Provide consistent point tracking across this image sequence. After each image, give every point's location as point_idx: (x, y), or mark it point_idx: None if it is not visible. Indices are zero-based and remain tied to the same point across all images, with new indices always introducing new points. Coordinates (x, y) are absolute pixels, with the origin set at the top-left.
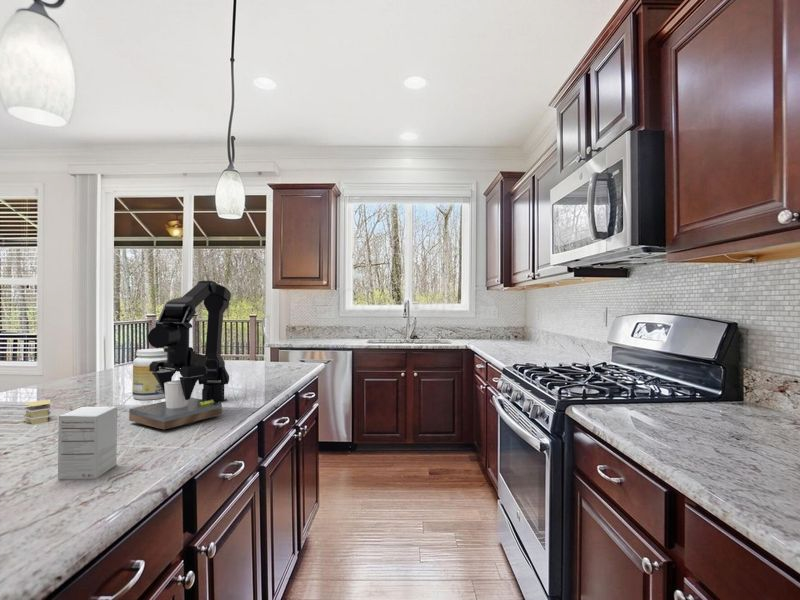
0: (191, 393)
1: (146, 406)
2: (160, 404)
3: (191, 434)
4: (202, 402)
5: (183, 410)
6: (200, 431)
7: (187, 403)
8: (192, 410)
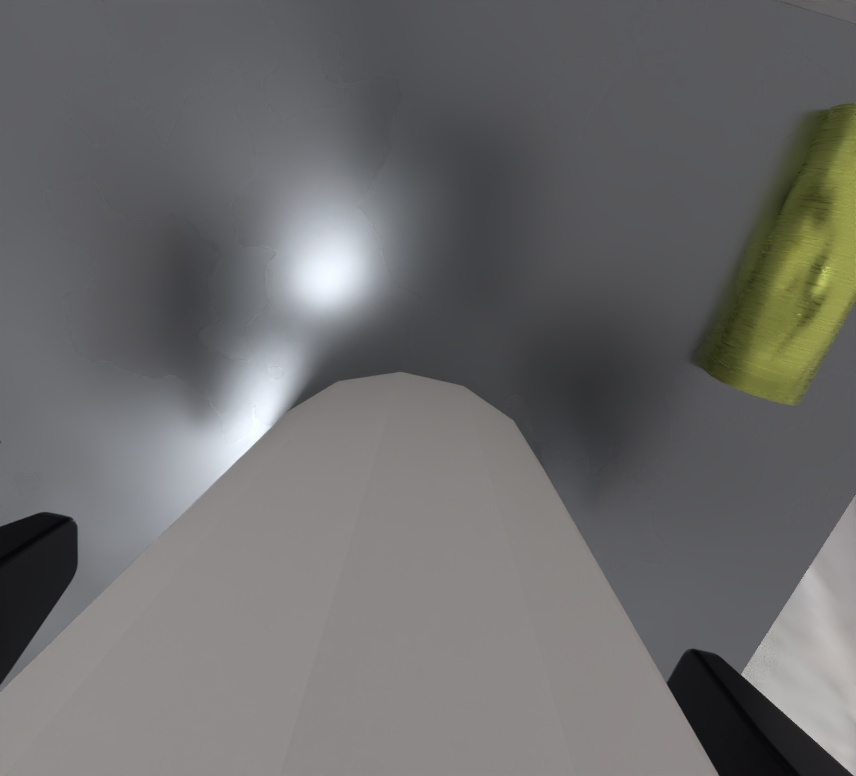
0: (838, 770)
1: (52, 637)
2: (102, 514)
3: (814, 677)
4: (804, 381)
5: (647, 645)
6: (853, 609)
7: (550, 481)
8: (767, 617)
